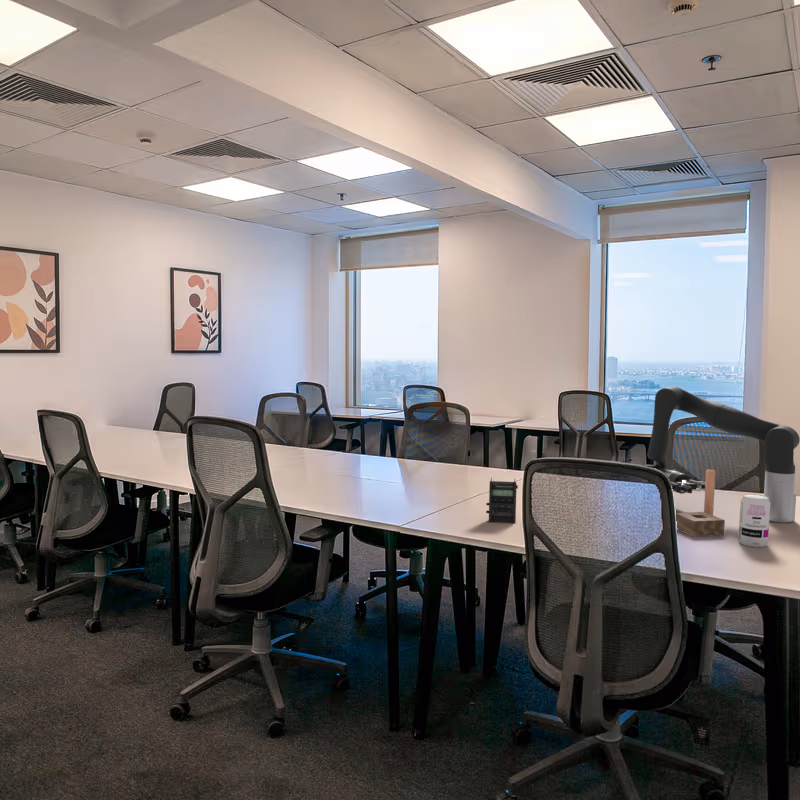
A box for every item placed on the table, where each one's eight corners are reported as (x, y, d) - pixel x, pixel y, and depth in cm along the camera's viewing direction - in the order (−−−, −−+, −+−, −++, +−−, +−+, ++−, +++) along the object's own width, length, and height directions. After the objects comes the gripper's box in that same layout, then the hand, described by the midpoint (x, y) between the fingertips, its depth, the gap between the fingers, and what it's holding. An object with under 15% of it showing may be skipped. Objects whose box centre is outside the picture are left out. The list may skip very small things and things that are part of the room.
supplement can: (755, 539, 222) (758, 493, 220) (773, 547, 214) (776, 499, 212) (732, 540, 220) (735, 493, 219) (750, 548, 212) (752, 499, 211)
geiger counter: (485, 522, 238) (486, 479, 237) (486, 519, 243) (487, 476, 241) (516, 524, 237) (518, 480, 236) (516, 521, 241) (517, 478, 240)
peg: (709, 519, 247) (711, 469, 245) (714, 521, 244) (717, 470, 242) (701, 520, 246) (704, 469, 245) (707, 522, 243) (709, 471, 242)
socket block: (703, 526, 237) (703, 511, 237) (723, 535, 227) (724, 520, 226) (673, 527, 235) (674, 513, 235) (693, 536, 225) (694, 521, 224)
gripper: (659, 472, 263) (684, 480, 247) (693, 471, 265) (720, 479, 249) (658, 491, 263) (683, 501, 247) (692, 490, 266) (719, 500, 250)
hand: (702, 490), depth 248 cm, fingers open, 8 cm apart
